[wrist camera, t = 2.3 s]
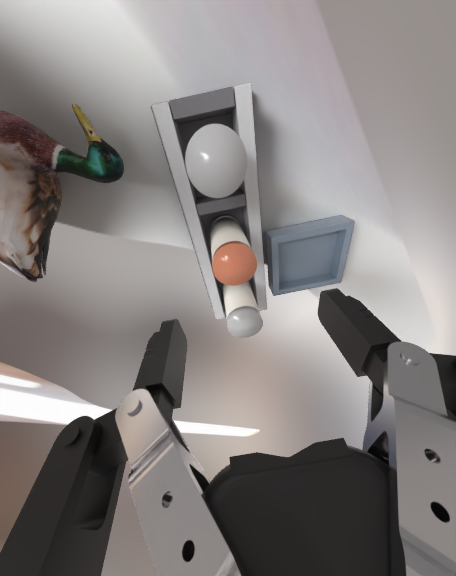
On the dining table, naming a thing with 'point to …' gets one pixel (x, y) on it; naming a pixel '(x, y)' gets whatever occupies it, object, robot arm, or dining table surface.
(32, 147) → the decorative duck model
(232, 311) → the fuse
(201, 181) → the white domed part
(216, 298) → the grey compartment rack
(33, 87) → the dining table surface
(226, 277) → the cylinder
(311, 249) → the tray
